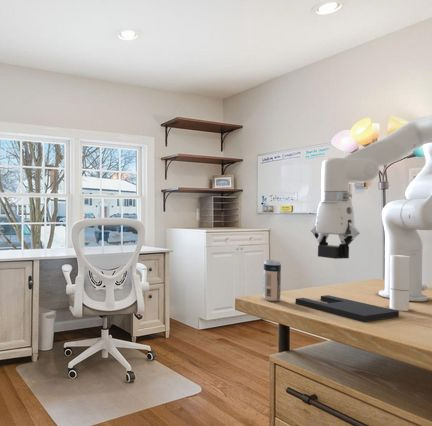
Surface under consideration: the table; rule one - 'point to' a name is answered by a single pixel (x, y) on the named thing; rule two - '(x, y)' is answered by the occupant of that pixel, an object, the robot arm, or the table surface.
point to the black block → (329, 251)
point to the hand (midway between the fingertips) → (333, 255)
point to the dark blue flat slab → (349, 308)
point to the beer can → (272, 280)
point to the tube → (399, 282)
